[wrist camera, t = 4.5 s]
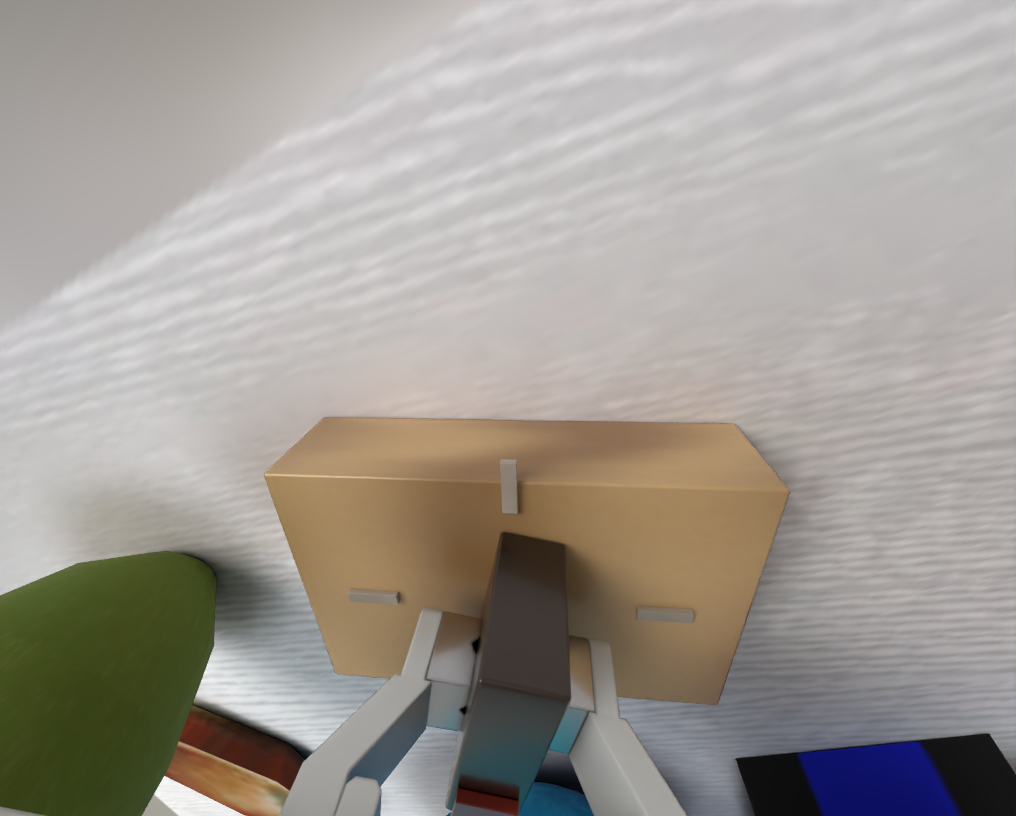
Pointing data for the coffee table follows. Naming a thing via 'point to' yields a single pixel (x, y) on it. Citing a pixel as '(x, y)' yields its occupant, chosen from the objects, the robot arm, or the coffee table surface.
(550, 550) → the knob
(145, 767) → the apple
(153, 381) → the coffee table surface
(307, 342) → the coffee table surface
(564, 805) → the decorative orb
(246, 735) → the wooden boat shaped bowl
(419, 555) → the panel
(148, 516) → the coffee table surface
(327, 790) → the robot arm
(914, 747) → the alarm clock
